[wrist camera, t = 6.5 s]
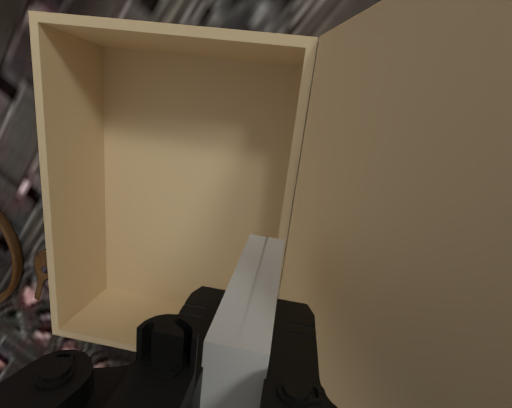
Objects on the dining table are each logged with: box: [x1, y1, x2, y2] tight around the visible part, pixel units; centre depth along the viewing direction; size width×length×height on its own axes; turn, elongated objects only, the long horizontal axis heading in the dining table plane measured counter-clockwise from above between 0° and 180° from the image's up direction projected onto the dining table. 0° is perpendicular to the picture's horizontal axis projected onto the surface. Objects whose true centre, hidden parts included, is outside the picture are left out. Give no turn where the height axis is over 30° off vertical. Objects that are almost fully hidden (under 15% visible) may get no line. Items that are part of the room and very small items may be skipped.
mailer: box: [28, 10, 318, 352], centre depth 21 cm, size 20×15×6 cm
